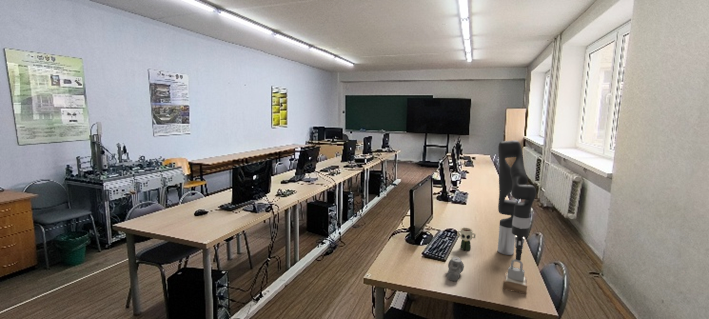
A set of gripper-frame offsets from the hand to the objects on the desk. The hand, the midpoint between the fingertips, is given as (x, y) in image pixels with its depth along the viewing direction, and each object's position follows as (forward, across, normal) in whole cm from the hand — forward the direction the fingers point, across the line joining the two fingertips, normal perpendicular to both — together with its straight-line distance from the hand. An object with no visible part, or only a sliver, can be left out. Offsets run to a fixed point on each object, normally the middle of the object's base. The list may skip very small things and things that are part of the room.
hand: (518, 256), depth 162 cm
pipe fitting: (+16, +4, -29) cm, 34 cm away
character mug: (+17, -36, -29) cm, 49 cm away
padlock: (+12, 0, 0) cm, 12 cm away
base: (+16, 0, 0) cm, 16 cm away
